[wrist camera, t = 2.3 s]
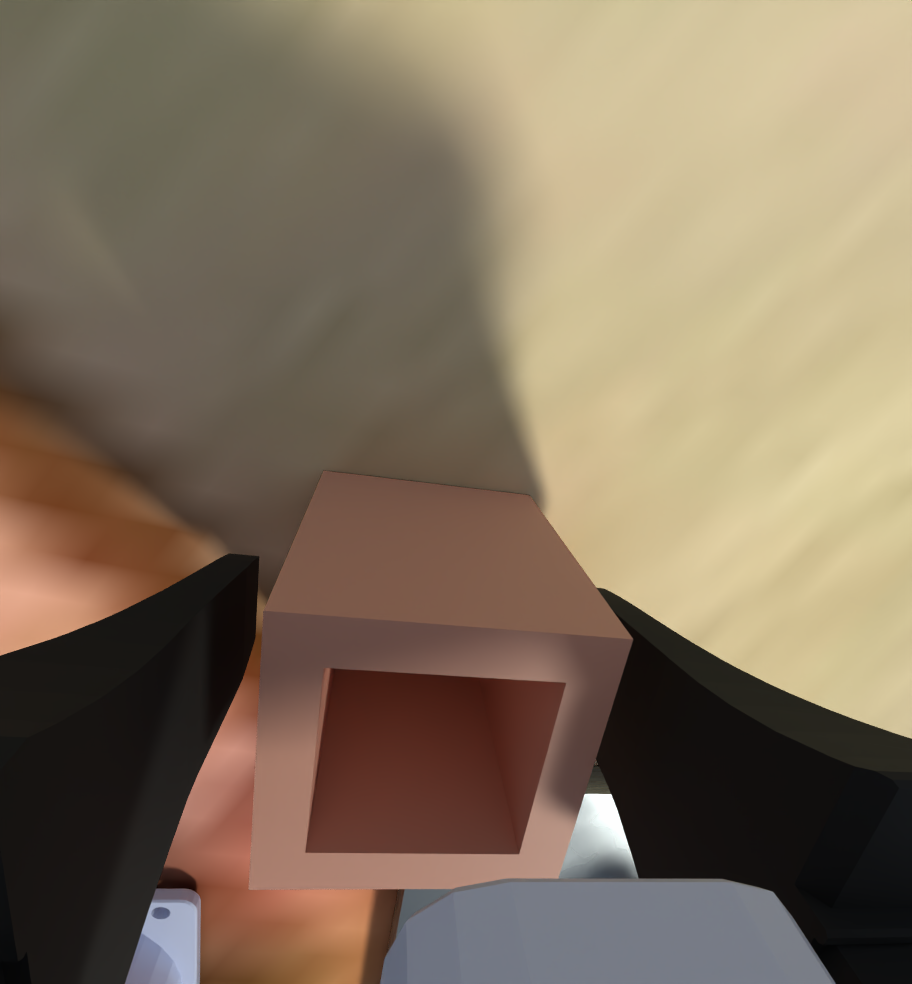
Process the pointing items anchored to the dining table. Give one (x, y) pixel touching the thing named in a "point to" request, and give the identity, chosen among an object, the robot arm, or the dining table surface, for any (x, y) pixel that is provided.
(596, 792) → the stand
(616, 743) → the robot arm
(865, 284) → the dining table surface
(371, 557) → the collar
